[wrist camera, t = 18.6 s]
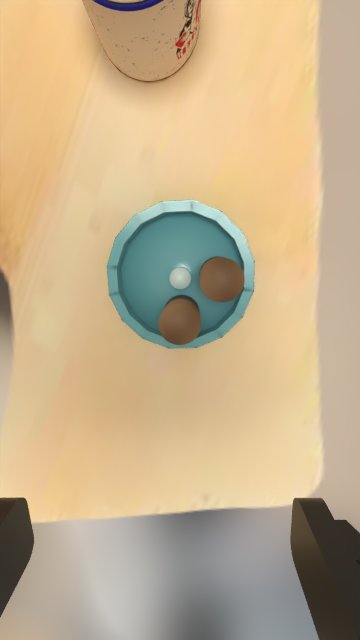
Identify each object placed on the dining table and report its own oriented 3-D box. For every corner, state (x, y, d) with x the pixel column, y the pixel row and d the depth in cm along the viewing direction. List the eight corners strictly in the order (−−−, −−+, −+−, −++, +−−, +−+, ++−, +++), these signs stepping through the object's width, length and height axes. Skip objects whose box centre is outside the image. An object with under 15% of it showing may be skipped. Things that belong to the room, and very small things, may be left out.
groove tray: (87, 279, 30) (78, 281, 28) (177, 172, 27) (176, 165, 25) (184, 365, 32) (183, 374, 29) (278, 273, 29) (285, 275, 27)
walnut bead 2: (199, 294, 29) (200, 303, 24) (198, 257, 28) (199, 258, 23) (236, 292, 29) (244, 301, 24) (236, 255, 28) (244, 256, 23)
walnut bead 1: (156, 313, 30) (149, 325, 25) (180, 287, 29) (178, 295, 24) (182, 336, 30) (180, 353, 25) (207, 311, 29) (209, 324, 24)
